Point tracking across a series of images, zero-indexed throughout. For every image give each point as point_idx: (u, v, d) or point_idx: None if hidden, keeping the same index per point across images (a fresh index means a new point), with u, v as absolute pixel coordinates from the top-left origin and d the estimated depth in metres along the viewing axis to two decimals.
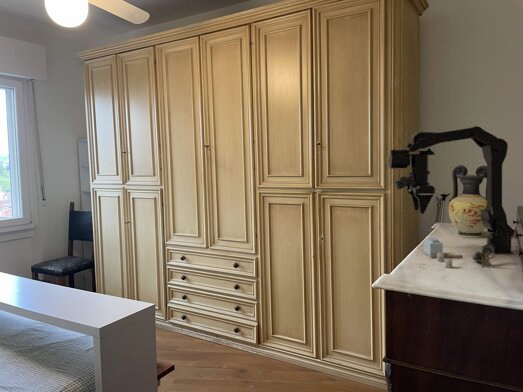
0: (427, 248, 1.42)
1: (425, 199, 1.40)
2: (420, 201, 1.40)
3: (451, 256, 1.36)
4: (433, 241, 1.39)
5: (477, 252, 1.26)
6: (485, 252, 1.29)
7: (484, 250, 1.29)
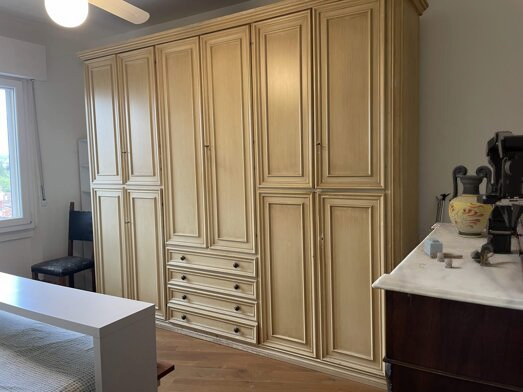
0: (427, 248, 1.42)
1: None
2: (502, 212, 1.27)
3: (451, 256, 1.36)
4: (433, 241, 1.39)
5: (476, 251, 1.27)
6: (484, 251, 1.30)
7: (483, 249, 1.30)
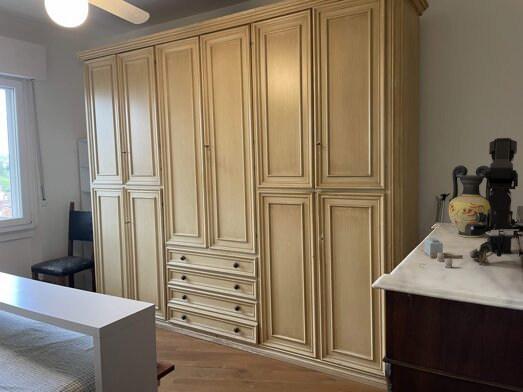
0: (427, 248, 1.42)
1: None
2: (492, 241, 1.28)
3: (451, 256, 1.36)
4: (433, 241, 1.39)
5: (475, 250, 1.29)
6: (483, 250, 1.31)
7: (482, 248, 1.31)
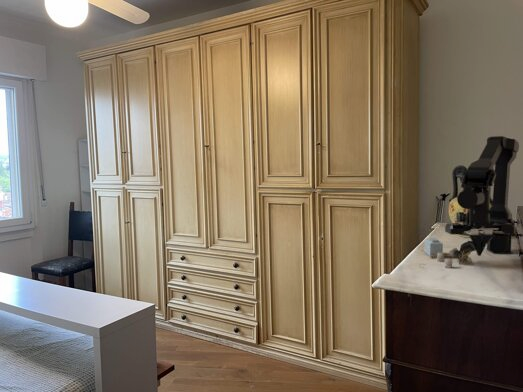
0: (427, 248, 1.42)
1: None
2: (473, 241, 1.29)
3: (451, 256, 1.36)
4: (433, 241, 1.39)
5: (454, 250, 1.30)
6: (465, 250, 1.32)
7: (464, 248, 1.31)
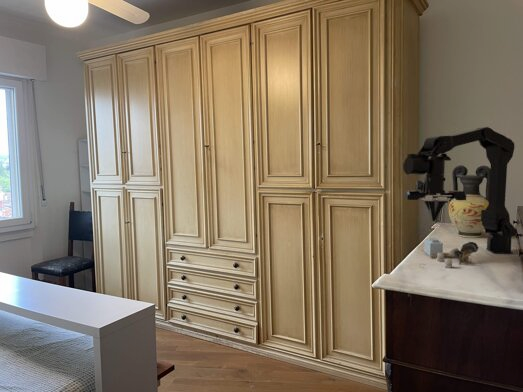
0: (427, 248, 1.42)
1: None
2: (427, 207, 1.38)
3: (451, 256, 1.36)
4: (433, 241, 1.39)
5: (455, 250, 1.30)
6: (466, 251, 1.31)
7: (465, 248, 1.31)
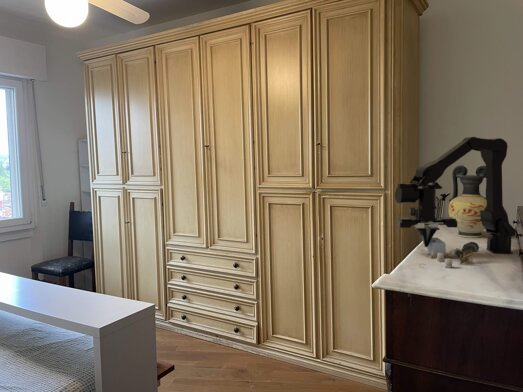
0: (430, 248, 1.42)
1: None
2: (420, 233, 1.43)
3: (451, 256, 1.36)
4: (436, 241, 1.39)
5: (456, 250, 1.30)
6: (467, 250, 1.31)
7: (466, 248, 1.31)
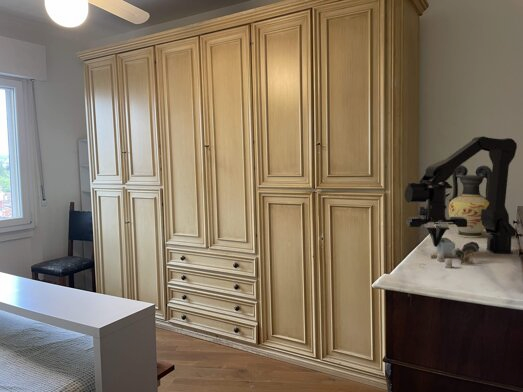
0: (439, 248, 1.41)
1: None
2: (430, 233, 1.42)
3: (451, 256, 1.36)
4: (445, 241, 1.38)
5: (457, 250, 1.30)
6: (467, 250, 1.31)
7: (466, 248, 1.31)
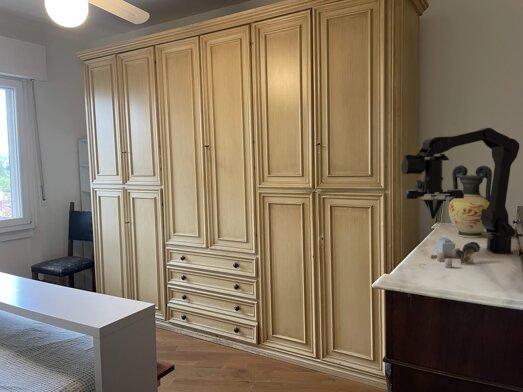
0: (439, 248, 1.41)
1: None
2: (427, 205, 1.43)
3: (451, 256, 1.36)
4: (445, 241, 1.38)
5: (457, 250, 1.30)
6: (468, 250, 1.31)
7: (466, 248, 1.31)
